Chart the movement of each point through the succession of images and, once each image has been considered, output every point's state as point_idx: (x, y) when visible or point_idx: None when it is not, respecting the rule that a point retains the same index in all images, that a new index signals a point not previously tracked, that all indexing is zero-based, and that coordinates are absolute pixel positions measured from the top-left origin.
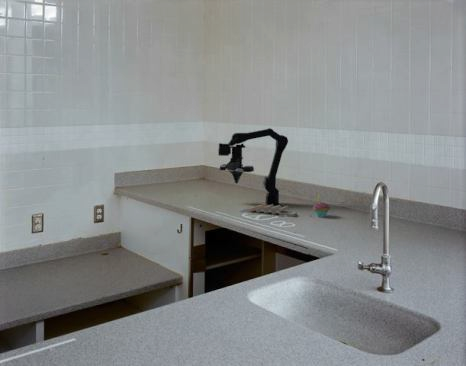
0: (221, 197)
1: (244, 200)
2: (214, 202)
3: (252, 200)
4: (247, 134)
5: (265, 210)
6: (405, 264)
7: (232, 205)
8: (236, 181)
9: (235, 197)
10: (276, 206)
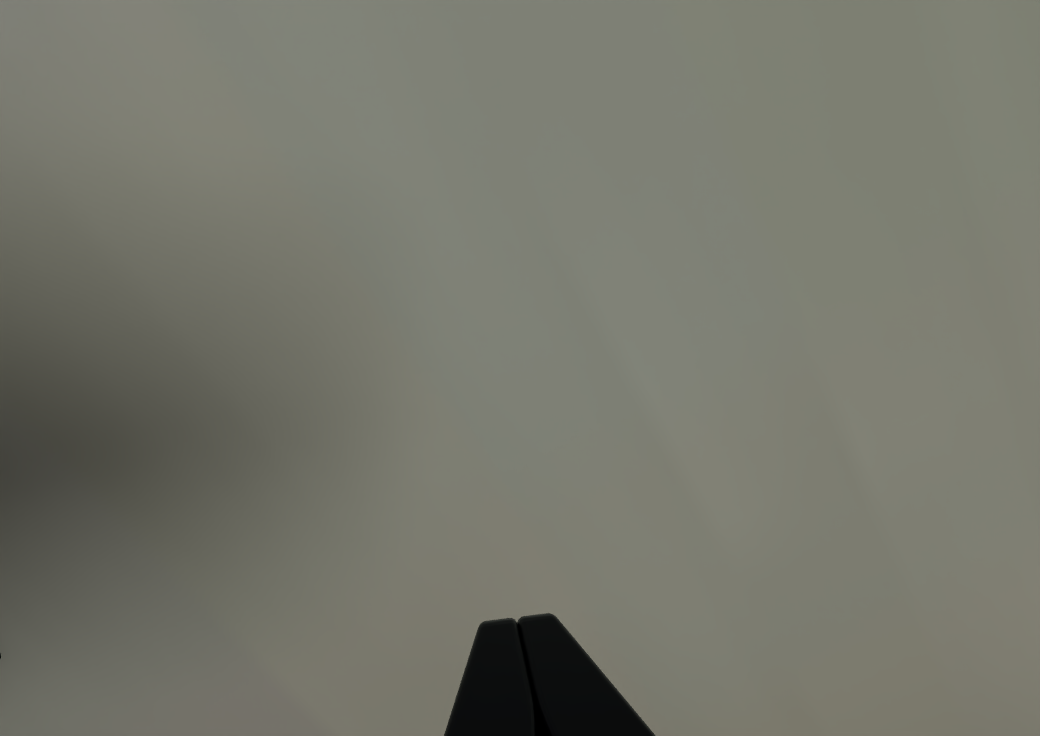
0: (969, 617)
1: None
2: (981, 179)
3: (382, 706)
4: None
5: None
6: None
7: (463, 98)
8: (502, 688)
9: (753, 726)
10: None
